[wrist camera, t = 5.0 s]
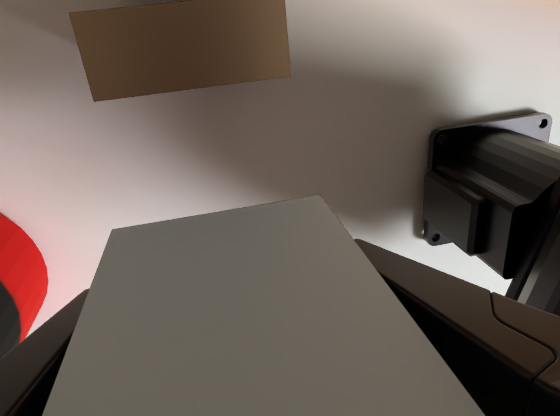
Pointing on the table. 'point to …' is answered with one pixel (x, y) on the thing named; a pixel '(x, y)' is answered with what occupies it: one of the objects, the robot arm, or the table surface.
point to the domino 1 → (181, 46)
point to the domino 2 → (248, 325)
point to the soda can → (19, 284)
